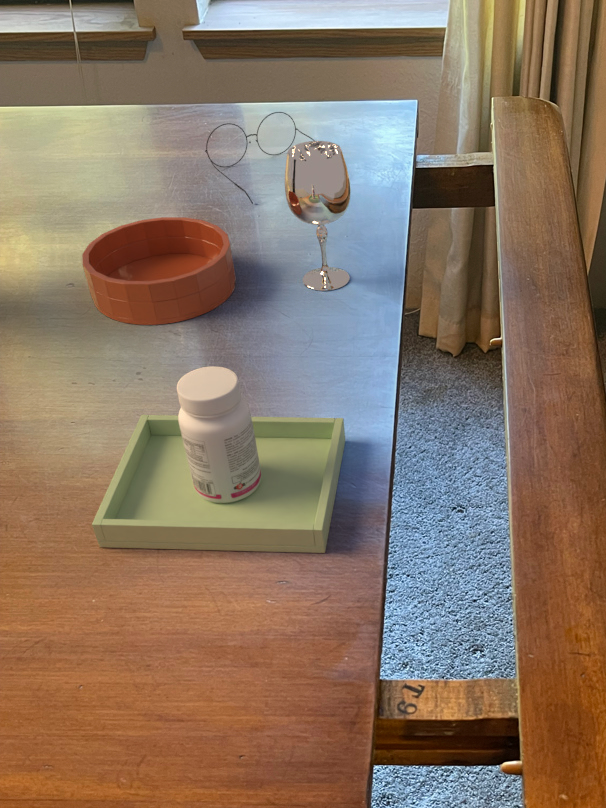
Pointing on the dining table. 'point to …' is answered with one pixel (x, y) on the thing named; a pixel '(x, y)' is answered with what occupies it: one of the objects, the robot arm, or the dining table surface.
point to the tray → (235, 521)
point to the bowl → (159, 270)
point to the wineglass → (318, 200)
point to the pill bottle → (218, 435)
